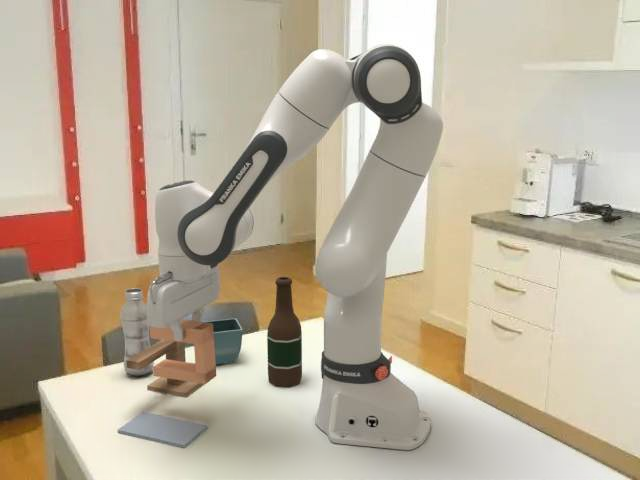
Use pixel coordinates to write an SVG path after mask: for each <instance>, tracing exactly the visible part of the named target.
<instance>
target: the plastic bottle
mask: <svg viewBox="0 0 640 480" xmlns="http://www.w3.org/2000/svg"><path fill="white" fill-rule="evenodd" d="M124 294H125V296H124V299H125V300H126V301H125V303H124V304H123V305H122V308H121V309H120V311H119V317H120V322H121V325H122V330H123V337H124V357H123V367H124V371H125V372H126V373H127V374H128V375H130V376H132V377H140V376H145V375H148V374H150V373H151V372H152V371H153V366H154V362H155V361H153V362H152V363H150V364H148V365H147V366H145V367H144V368H142V369H140V370H136V369H130V368H127V365H126V360H128V359H129V358H131V357H133V356H135V355H136V354H138V353H140V352H142V351H143V350H145V349H147V348H149V347H150V346H151V343H150V342H151V341H150V326H149V323H148V321H147V303H145V302H144V301H143V299H144V295H143V289H142V288H136V287H135V288H134V287H133V288H129V289H126V290H125V292H124Z"/></svg>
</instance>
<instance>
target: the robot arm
mask: <svg viewBox="0 0 640 480" xmlns="http://www.w3.org/2000/svg"><path fill="white" fill-rule="evenodd" d="M422 94H423V93H422V77H421V72H420V68H419V66H418V62H416V60H415V58H414V57H413V55H411V53H409V52H408V51H407V50H405V49H404V48H402V47H401V46H399V45H396V44H391V43H390V44H389V43H384V44H383V43H382V44H377V45H375V46H373V47H371V48H369V49H367V50H366V51H363V52H362V53H360V54H358V55H356V56H353V57H351V58H346V57H344V56H343V55H341V54H340V53H339V52H336V51H334V50H331V49H327V48H326V49H325V48H320V49H316V50H314V51H311V53H310V54H308V56H307V57H305V58H304V59H303V60H302V61H301V62H300V64H299V65H298V66H296V67H295V69H294V70H293V72H292V73H291V74H290V75H289V77H288V78H287V79H286V80H285V82H284V83H283V84H282V85H281V87H280V88H279V90H278V91H277V92H276V94H275V96H274V98H273V99H272V100H271V102H270V103H269V106H268V107H267V109H266V111H265V112H264V113H263V116H262V118H261V120H260V121H259V124H258V126H257V128H256V129H255V131H254V133H253V135H252V137H251V138H250V140H249V141H248V144H247V146H246V147H245V149H244V150H243V153H242V154H241V155H240V157H239V158H238V159H237V160H236V162H235V163H234V165H233V166H232V167H231V169H230V171H229V172H228V173H227V175H226V176H225V177H224V179H223V180H222V181H221V182H220V184H219V186H218V187H217V188H216V190H215V191H214V192H212V191H210V190H209V189H207V188H205V187H203V186H202V185H201V184H199V183H198V182H197V181H195V180H183V181H178V182H173V183H170V184H167V185H164V186H162V187H161V188H159V189H158V190H157V192H156V195H155V200H154V208H155V209H154V219H155V231H156V234H157V237H158V247H157V258H158V268H159V269H158V270H159V271H158V272H159V276H156V277H154V278H153V280H152V282H151V284H150V286H149V289H148V291H147V296H146V305H147V321H148V323H149V325H150V326H151V327H156V328H166V327H168V326H170V328H171V329H172V331H173V333H174V339H175V340H176V341H181V340H183V339H185V338H186V335H185V334H186V330H183V329H182V327H181V325H180V324H182V320H183V319H184V318H186V317H188V316H190V315H191V319H190V321H197V322H202V319H203V315H204V311H205V310H204V309H205V306H207V305H210V304H211V303H212V302H215V301H216V300H219V298H220V297H219V296H220V293H221V277H220V275H221V274H220V270H219V268H218V267H219V266H220V263H222V262H223V261H225V260H226V259H227V258H228V257H229V255H230V254H231V253H232V252H233V251H235V250H236V249H237V248H239V247H240V246H241V245H243V243H244V242H246V241H247V240H248V239H249V237H250V236H251V234H252V232H253V229H254V216H253V213H252V211H251V209H250V208H251V206H252V205H253V204H254V202H255V201H256V199H257V198H258V197H259V196H260V195H261V193H262V192H263V190H264V189H265V188H266V186H268V184H269V183H270V182H271V181H272V180H273V179H274V178H275V177H277V176H278V175H279V174H280V173H281V172H282V171H284V170H286V169H287V168H288V167H291V166H292V165H294V164H295V163H297V162H298V161H300V160H301V159H303V158H304V157H306V156H307V155H308V154H310V152H311V151H312V150H313V149H314V148H315V147H316V146H317V145H318V144H319V143H320V141H322V140H323V139H324V137H325V136H326V135H327V133H328V132H329V130H330V129H331V128H332V126H333V124H334V123H335V122H336V120H337V119H338V118H339V116H340V115H341V114H342V113H343V111H345V110H346V109H347V108H348V107H349V106H351V105H353V104H357V103H361V104H363V105H364V106H365V107H366V108H367V109H369V110H370V111H371V112H372V113H373V114H375V116H377V117H378V118H379V120H380V121H379V128H378V130H377V134H376V137H375V138H374V141H373V142H372V145H371V147H370V149H369V150H368V153H367V156H366V158H365V159H364V162H363V164H362V166H361V168H360V169H359V170H360V171H359V173H358V175H357V177H356V179H355V181H354V183H353V186H352V188H351V190H350V192H349V194H348V196H347V197H346V199H345V201H344V202H343V204H342V206H341V207H340V210H339V212H338V213H337V215H336V217H335V219H334V221H333V223H332V224H331V226H330V229H329V230H328V233H326V234H327V235H326V237H325V238H324V240H323V243H322V245H321V247H320V249H319V251H318V253H317V256H316V259H315V260H316V261H315V264H314V265H315V266H314V271H315V276H316V279H317V282H318V284H319V285H320V286H321V288H323V290H325V291H326V292H327V293H326V294H327V295H326V296H327V297H326V302H325V307H324V312H323V350H322V352H321V359H320V360H321V361H320V372H321V379H322V384H321V385H322V386H321V391H320V393H321V395H320V400H319V404H318V409H317V412H316V415H315V424H316V426H317V427H318V428H319V429H320V430H321V431H322V432H324V433H326V435H327V437H328V439H329V441H330V442H331V443H333V444H340V445H351V446H362V447H370V448H371V447H373V448H374V447H375V448H380V449H383V448H384V449H392V450H401V451H412V450H414V449H416V448H418V447H420V446H421V445H422V444H423V443H424V442H425V441H426V440H427V438H428V437H429V435H430V433H431V432H430V431H431V428H432V427H431V426H432V423H431V418H430V416H429V414H428V413H426V412H424V411H420V405H419V400H418V396H417V395H416V393H415V391H414V390H413V389H412V388H410V387H409V386H408V385H407V384H405V383H403V381H402V380H400V379H399V378H398V377H397V376H395V375H394V374H393V373H392V372H391V369H392V368H391V367H392V366H391V364H392V363H393V356H392V355H391V356H389V358H387V357H386V356H385V355H384V354H383V352H382V324H383V323H382V321H383V320H382V318H383V317H382V316H383V306H384V298H385V297H384V296H385V287H386V276H387V275H386V274H387V273H386V272H387V262H388V260H387V259H388V253H389V250H390V249H391V246H392V245H393V242H394V241H395V239H396V236H397V235H398V233H399V231H400V229H401V227H402V225H403V223H404V221H405V219H406V217H407V215H408V213H409V211H410V210H411V207H412V205H413V204H414V201H415V199H416V197H417V195H418V193H419V192H420V189H421V187H422V185H423V183H424V181H425V179H426V177H427V176H428V173H429V171H430V169H431V166H432V164H433V162H434V159H435V156H436V154H437V150H438V148H439V145H440V141H441V138H442V134H443V131H444V122H443V119H442V117H441V115H440V114H439V113H438V112H437V111H436V109H434V108H433V107H431V106H430V105H428V104H427V103H424V102H423V98H422V96H423V95H422ZM150 326H149V327H150Z"/></svg>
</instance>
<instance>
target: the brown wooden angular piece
mask: <svg viewBox="0 0 640 480" xmlns="http://www.w3.org/2000/svg"><path fill="white" fill-rule="evenodd" d="M163 356H165V359H167V360H174V361H181V362H187V361H186V359H187V358H186V343H184V342H176V341H168V340H161V339H160V340H159V341H157V342H156V343H153V344H152V345H150V347H149V348H147V349H145V350H143V351H142V352H140V353H138V354H136V355H135V356H133V357H131V358H129V359H128V360H126V365H127V368H130V369H136V370H140V369H142V368H144V367H145V366H147V365H148V364H150V363H152V362H153V361H154V362H155V361H156V360H158V359H160V358H162V357H163ZM203 386H205V384H202V383H195V382H189V381H183V380H176V379H170V378H163V377H157V379H155V380H153V381H152V382H151V383H149V384H147V385H146V389H147V391H151V392H156V393H160V394H167V395H171V396H176V397H182V398H188V397H189V396H190V395H191V394H193V393H195V392H196V391H197V390H198V389H200V388H201V387H203Z"/></svg>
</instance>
